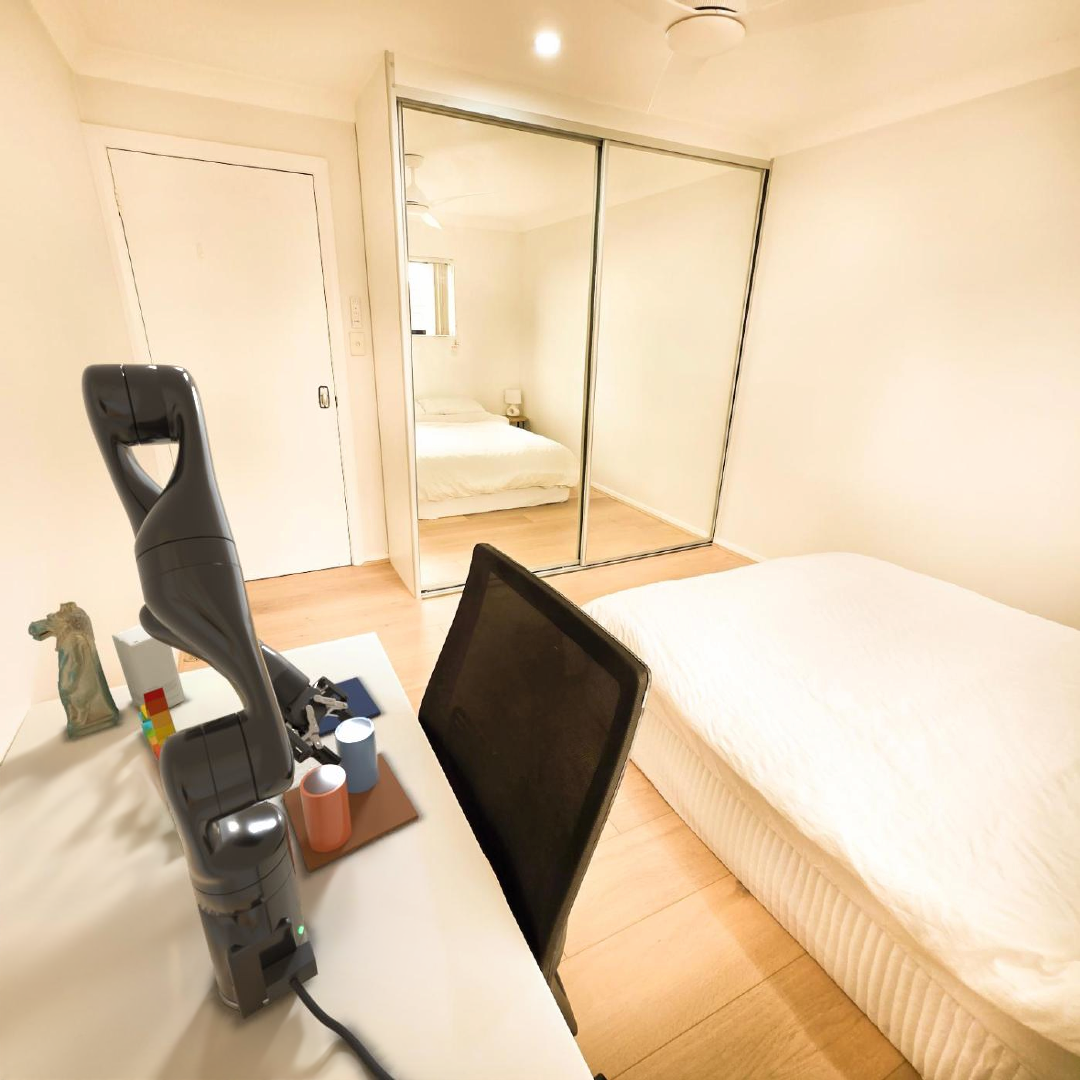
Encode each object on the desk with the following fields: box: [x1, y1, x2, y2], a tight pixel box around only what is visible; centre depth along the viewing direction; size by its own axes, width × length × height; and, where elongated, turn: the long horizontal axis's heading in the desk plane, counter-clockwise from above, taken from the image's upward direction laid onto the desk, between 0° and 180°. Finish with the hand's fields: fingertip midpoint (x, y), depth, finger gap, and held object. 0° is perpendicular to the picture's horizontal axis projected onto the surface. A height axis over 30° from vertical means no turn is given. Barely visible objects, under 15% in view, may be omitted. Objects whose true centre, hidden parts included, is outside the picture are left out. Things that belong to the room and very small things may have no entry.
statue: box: [27, 601, 120, 740], centre depth 94 cm, size 7×8×25 cm
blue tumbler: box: [334, 717, 379, 793], centre depth 85 cm, size 6×6×10 cm
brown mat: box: [282, 752, 420, 873], centre depth 82 cm, size 16×16×1 cm
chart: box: [138, 687, 177, 762], centre depth 86 cm, size 30×3×15 cm, turn 47°
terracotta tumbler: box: [299, 765, 352, 852], centre depth 75 cm, size 6×6×10 cm
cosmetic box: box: [111, 623, 186, 709], centre depth 102 cm, size 8×7×16 cm
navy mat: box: [305, 676, 382, 737], centre depth 105 cm, size 14×14×1 cm
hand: (348, 745), depth 85 cm, fingers open, 8 cm apart
